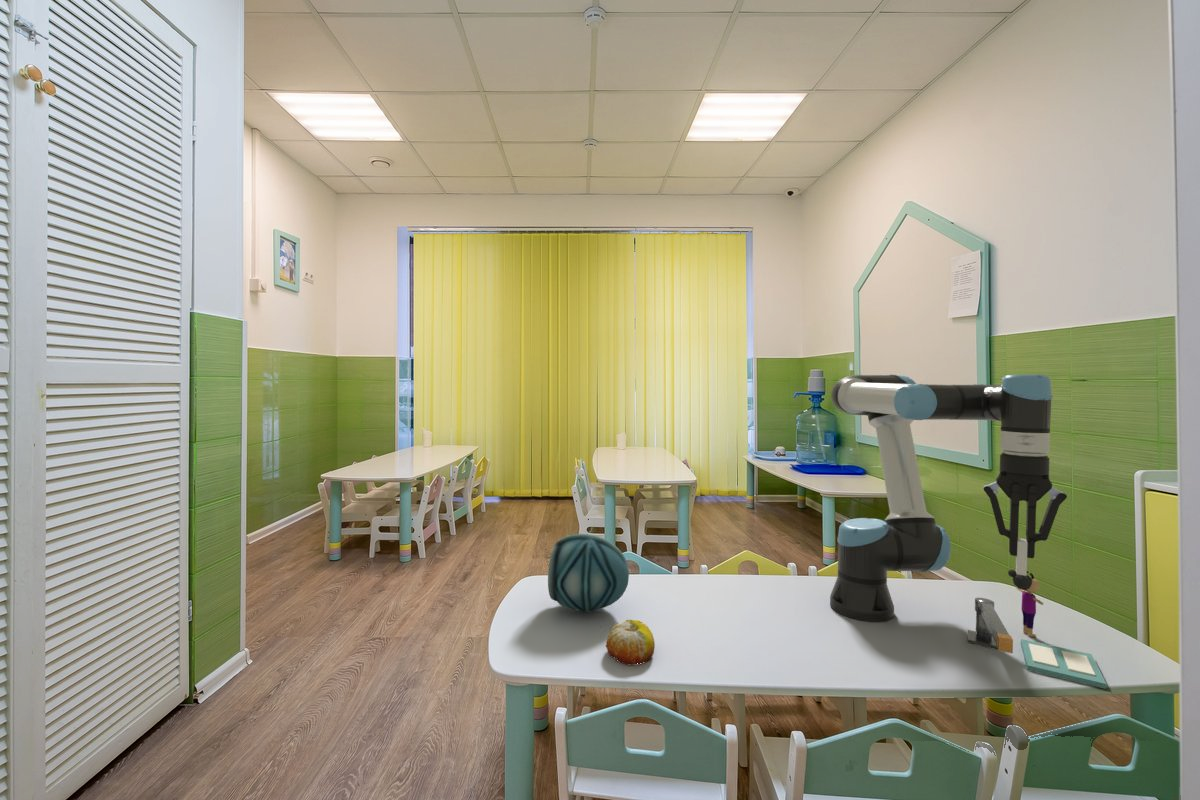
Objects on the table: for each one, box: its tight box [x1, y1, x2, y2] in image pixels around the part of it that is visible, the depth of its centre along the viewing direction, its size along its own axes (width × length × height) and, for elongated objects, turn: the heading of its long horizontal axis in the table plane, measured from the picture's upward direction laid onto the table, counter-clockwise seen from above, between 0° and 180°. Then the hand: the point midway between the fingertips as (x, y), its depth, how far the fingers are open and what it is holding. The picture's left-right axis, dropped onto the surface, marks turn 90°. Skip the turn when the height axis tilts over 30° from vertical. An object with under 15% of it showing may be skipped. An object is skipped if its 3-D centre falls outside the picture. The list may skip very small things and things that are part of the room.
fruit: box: [605, 619, 656, 665], centre depth 114 cm, size 11×10×8 cm
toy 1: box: [547, 533, 630, 613], centre depth 136 cm, size 19×20×20 cm
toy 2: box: [1007, 569, 1044, 637], centre depth 125 cm, size 10×6×15 cm, turn 168°
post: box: [967, 611, 999, 651], centre depth 121 cm, size 6×6×7 cm
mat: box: [1020, 638, 1107, 690], centre depth 111 cm, size 12×14×1 cm
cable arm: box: [974, 597, 1014, 654], centre depth 112 cm, size 22×4×3 cm, turn 153°
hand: (1021, 572), depth 103 cm, fingers closed
